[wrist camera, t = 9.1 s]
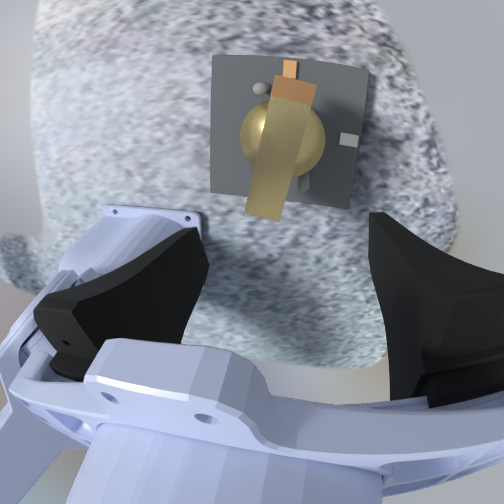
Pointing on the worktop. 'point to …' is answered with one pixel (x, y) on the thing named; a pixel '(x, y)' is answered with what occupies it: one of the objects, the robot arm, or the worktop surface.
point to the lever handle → (280, 144)
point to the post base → (324, 105)
